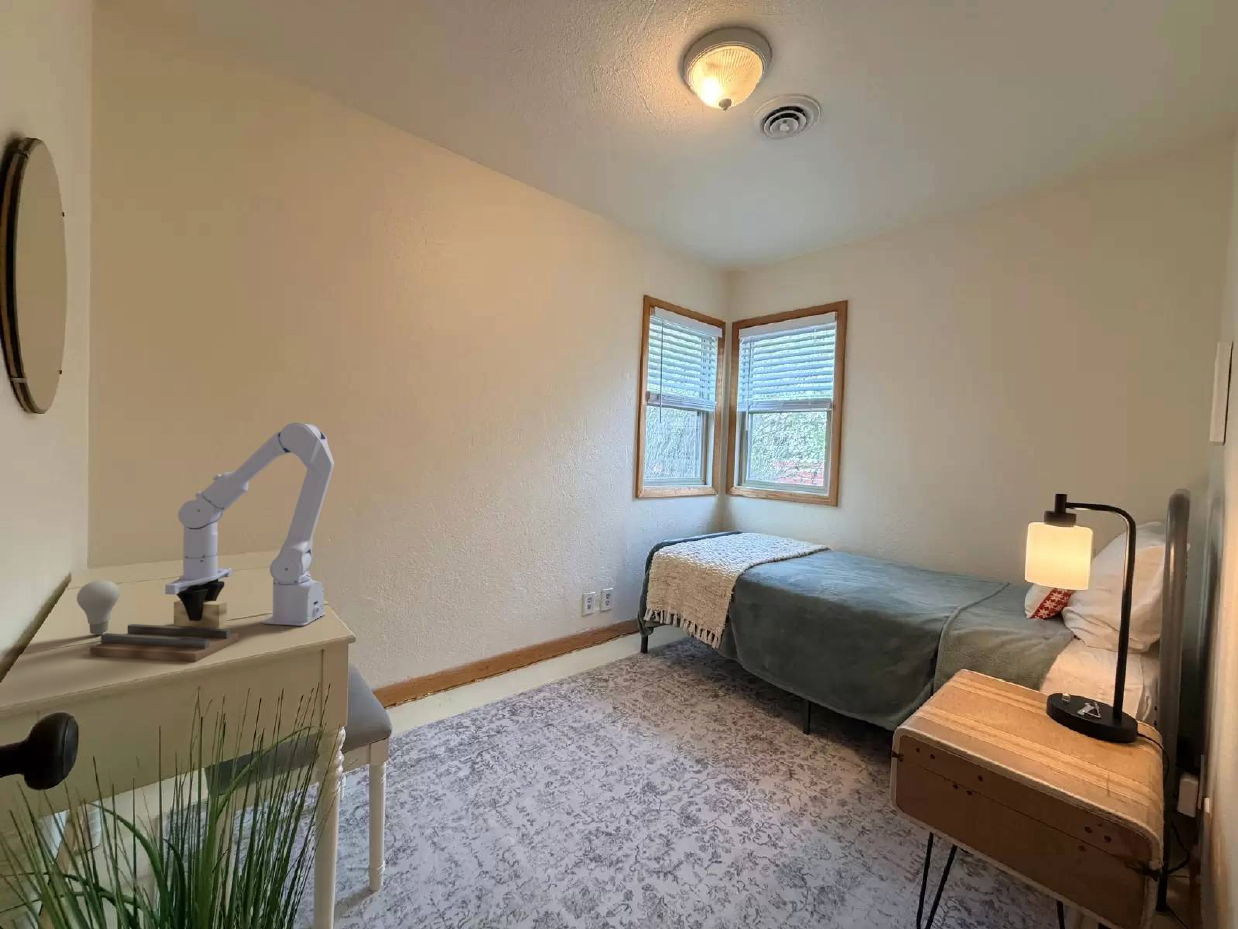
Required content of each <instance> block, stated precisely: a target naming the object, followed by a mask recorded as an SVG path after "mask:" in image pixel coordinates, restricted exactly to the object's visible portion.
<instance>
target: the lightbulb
mask: <svg viewBox="0 0 1238 929" xmlns="http://www.w3.org/2000/svg"><path fill="white" fill-rule="evenodd" d="M120 596H121V590H120V587H119V586H118V585H117V584H116V583H115V582H112V581H111V580H105V579H99V580H93V581H90V582H88V583H86V584H85V585H83V586H82V587H81V588H80V589H79V591H78V593H77V595H76V601H77V604H78V606H79V607H80V608H81V609H82V611H83V612H84V613H85V615H86V619H87V624H89V633H90V634H92V635H95V636H101V635H103V634H105V632H107V631H108V629H109V621H110V619H111V614H112V610H113V608H114V607H115V605H116V604H117V603H118V601H119V599H120Z"/></svg>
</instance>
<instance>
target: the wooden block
mask: <svg viewBox="0 0 1238 929" xmlns="http://www.w3.org/2000/svg"><path fill="white" fill-rule="evenodd" d="M227 607H228V602H227V601H218V600H216V601H204V603H203V613H202V618H201V620H200V621H189V618H188V615H187V612H186V609H185V607H184V605H183V603H182V601H181V600H180V599H179V600H176V601H174V602H173V626H177V627H195V626H198V627H197V628H213V627H216V628H215V629H220V628H222V627H224V626H227V625H226V624H227V618H228V609H227ZM199 626H200V627H199ZM221 626H222V627H221ZM219 627H220V628H219Z"/></svg>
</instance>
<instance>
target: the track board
mask: <svg viewBox="0 0 1238 929" xmlns="http://www.w3.org/2000/svg"><path fill="white" fill-rule="evenodd" d="M237 642H239V633H238V632H232V630H231V629H229V628H227V629H226V628H213V627H195V626H177V625H159V624H157V625H155V624H137V623H131V624H128V625H127V633H109V632H107V633H103V634H101V635H100V643H98V644H95V645H92V646H90V647H89V656H91V655H96V656H95V657H107V658H108V657H110V658H112V657H113V658H124V657H125V658H127V659H142V660H143V659H146V660H160V661H162V660H163V661H177V662H179V661H180V662H196V663H197V662H198V661H200V660H202V659H204V658H206V657H208V656H210V655H212V654H215V653H216V652H218V651H221V650H222V649H225V648H227V647H228V646H231V645H232V644H235V643H237ZM125 658H124V659H125Z"/></svg>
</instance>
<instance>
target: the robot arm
mask: <svg viewBox="0 0 1238 929" xmlns="http://www.w3.org/2000/svg"><path fill="white" fill-rule="evenodd" d="M328 443H329V442H328V437H327V436H326V435H325V434H324V433H323V431H322V430H321V429H320V428H319V427H318V426H317V425H315V424H314V423H310V422H309V423H306V422H305V423H302V422H291V423H288V424H286V425H285V426H284V427H283V428H282V429H281V431H277V432H276V433H273V435H271V437H270V438H268V439H267V440H266V441H265V442H264V443H263V444H262V445H261V446H260V447H258V449H257V450H256V451H254V452H253V454H252V455H251V456H250V457H249V458H248V459H246V461H244V462H243V464H241V466H239V467H238V468H237V469H236V470H235V471H225V472H223V473H222V474H221V473H220V474H216V475H214V477H213V478H212V480H213V482H211V484H209V485H208V486H207V487H206V488H205V489H204V490H202V491H198V492H196V494H194V497H195V499H192V500H187V501H185V502H184V503H183V504H182V506H181V507H180V508H179V510H178V513H177V514H178V515H177V517H178V520H179V522H180V523H181V524H182V525H183V535H182V536H183V540H182V542H183V544H182V546H183V549H182V552H183V553H182V554H183V555H182V556H183V557H182V558H183V559H182V560H183V561H182V562H183V563H182V566H183V567H182V568H183V569H182V570H183V574H181V575H179V578H178V579H176V580H174V581H172V582H170V583H166V584H165V586H164V587H165V588H164V590H165V592H164V593H165V595H176V596H177V597H178V599H179V600H181V601H182V603H183V605H184V607H185V609H186V612H187V615H188V618H189V621H200V620H201V618H202V613H203V603H204V601H217V599H218V597H219V595H220V593H221V591H222V590H223V589H224V587H225V581H223V580H221V579H224V578H229V577H232V575H233V574H232V573H233V572H232V569H233V568H232V567H220V568H219V566H218V564H219V563H218V561H219V560H218V559H219V558H218V557H219V556H218V550H219V549H218V542H219V541H218V540H219V539H218V538H219V537H218V536H219V533H218V522H219V521H220V520H221V518H222V517H223V514H224V512H226V511H227V510H228V509H229V508H230V507H232V505H233V504H235V503H236V502H237V501H238V500H239V499H240V498H241V497H243V495H245V494H246V493H247V492H248V491H249V484H250V483H249V482H250V481H251V480H252V479H253V478H255V476H257V475H258V474H259V473H260V472H262V471H263V470H264V469H265V468H267V467H268V466H269V465H270V464H271V463H272V462H274V461H275V460H276V459H277V458H279V457H282V456H285V455H289V454H294V455H296V456H297V457H298V458H299V460H300V461H301V462H302V464H304V466H305V468H306V472H305V476H304V480H303V483H302V485H301V486H302V487H301V489H300V493H299V495H298V500H297V503H296V507H295V510H294V512H293V516H292V519H291V523H290V525H289V529H288V533H287V535H286V536H287V537H285V540H284V542H283V544H282V545H281V548H280V550H279V552H278V553H279V554H278V555H277V556H276V557H275V558H274V559H273V560H272V562H271V564H270V565H269V566H270V567H269V573H270V575H271V577H272V578H273V579H272V616H271V617H269V618H267V619H265V620H263V621H262V624H265V625H281V626H285V625H286V626H301V627H303V626H306V625H308V624H310V623H312V622H314V621H315V619H316V620H318V619H319V618H321V617H323V616H325V615H326V611H324V607H325V605H324V604H325V603H324V601H325V599H324V598H325V588H324V585H323V583H322V582H321V581H317V580H314V579H312V575H311V573H310V572H309V569H310V568H311V567H312V565H313V563H314V556H313V551H312V550H313V545H314V540H313V538H314V534H315V532H316V527H317V525H318V522H319V518H320V515H321V513H322V512H321V511H322V507H323V504H324V501H325V498H326V494H327V492H328V488H329V486H330V485H329V484H330V481H331V478H332V475H333V471H334V468H335V460H334V459H333V458H334V457H333V455H332V452H331V450H330V447H329V444H328ZM220 580H221V581H220ZM320 616H321V617H320ZM317 618H318V619H317Z"/></svg>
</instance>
